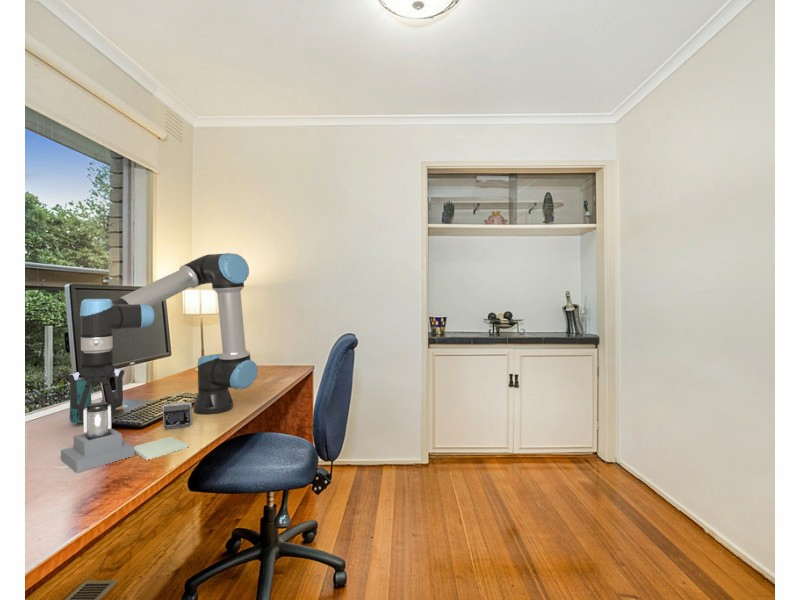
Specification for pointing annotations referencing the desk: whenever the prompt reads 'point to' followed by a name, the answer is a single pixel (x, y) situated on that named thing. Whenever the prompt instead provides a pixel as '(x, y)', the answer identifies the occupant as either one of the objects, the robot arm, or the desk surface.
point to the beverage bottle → (80, 389)
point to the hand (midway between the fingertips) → (97, 429)
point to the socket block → (96, 451)
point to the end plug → (97, 420)
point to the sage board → (159, 447)
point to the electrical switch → (177, 415)
